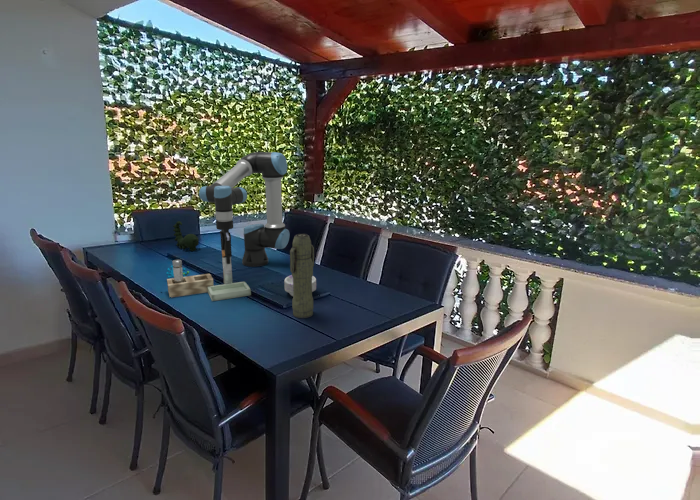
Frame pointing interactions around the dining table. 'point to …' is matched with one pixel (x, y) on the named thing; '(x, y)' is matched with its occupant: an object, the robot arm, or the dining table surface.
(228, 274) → the hitch pin
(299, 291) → the thermos
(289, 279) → the paper bowls
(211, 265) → the dining table surface
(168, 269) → the teal spiky toy
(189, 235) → the toy figurine
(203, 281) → the block
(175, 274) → the grey capped shaker
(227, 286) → the tray
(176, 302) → the dining table surface
